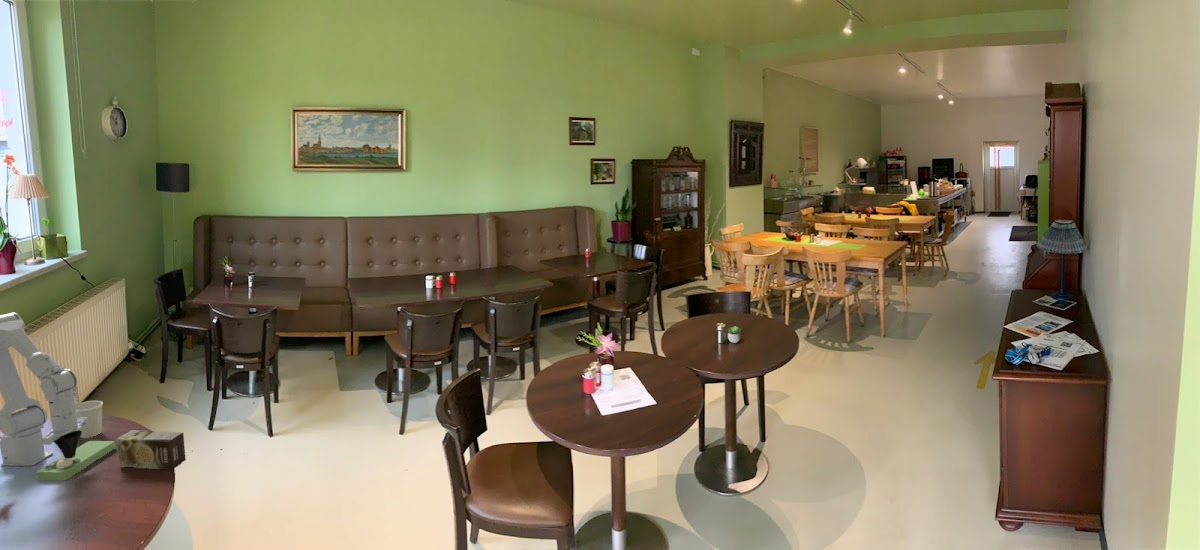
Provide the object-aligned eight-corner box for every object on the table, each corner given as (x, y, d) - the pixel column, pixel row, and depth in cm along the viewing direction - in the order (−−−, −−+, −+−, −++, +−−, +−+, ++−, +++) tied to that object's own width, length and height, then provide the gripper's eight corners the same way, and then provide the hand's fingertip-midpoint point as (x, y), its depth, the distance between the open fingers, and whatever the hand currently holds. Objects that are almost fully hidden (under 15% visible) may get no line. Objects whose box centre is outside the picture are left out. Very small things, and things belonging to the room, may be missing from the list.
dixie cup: (70, 441, 216) (65, 411, 214) (81, 430, 224) (77, 401, 222) (100, 438, 218) (96, 408, 216) (111, 427, 226) (107, 399, 224)
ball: (59, 454, 196) (55, 465, 197) (56, 464, 192) (53, 475, 194) (76, 456, 198) (72, 466, 199) (73, 465, 195) (70, 476, 196)
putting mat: (37, 480, 191) (36, 471, 191) (90, 448, 211) (88, 440, 210) (66, 480, 191) (64, 472, 191) (115, 448, 211) (114, 441, 210)
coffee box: (115, 438, 197) (168, 440, 196) (131, 429, 203) (183, 431, 202) (119, 468, 199) (172, 470, 198) (135, 458, 205) (186, 460, 204)
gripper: (57, 423, 188) (64, 469, 191) (95, 403, 202) (101, 446, 205) (31, 423, 188) (39, 468, 191) (71, 403, 202) (78, 445, 205)
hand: (70, 457), depth 198 cm, fingers closed
